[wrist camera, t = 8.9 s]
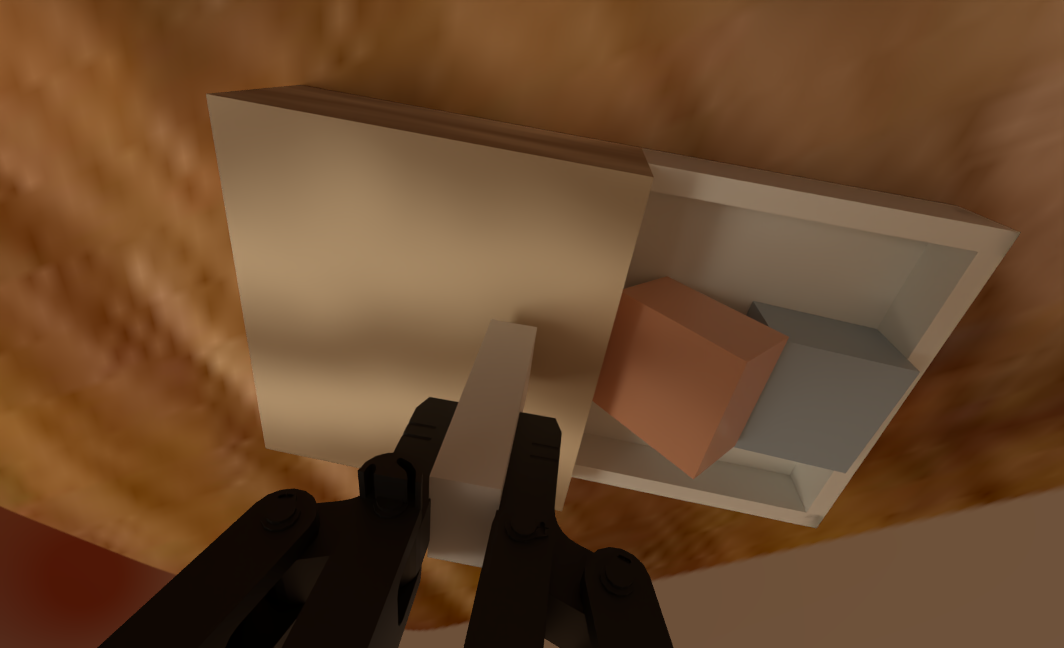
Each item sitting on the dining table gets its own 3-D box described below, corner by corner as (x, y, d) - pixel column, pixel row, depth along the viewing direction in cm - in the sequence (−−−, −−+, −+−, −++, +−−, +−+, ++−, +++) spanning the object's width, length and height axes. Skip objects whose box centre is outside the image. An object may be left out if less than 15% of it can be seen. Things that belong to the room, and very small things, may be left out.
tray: (641, 147, 18) (648, 163, 15) (958, 206, 17) (1020, 232, 15) (568, 431, 25) (564, 475, 22) (793, 477, 24) (816, 528, 22)
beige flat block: (300, 85, 18) (205, 93, 14) (641, 147, 18) (653, 177, 13) (323, 380, 25) (265, 448, 21) (568, 431, 25) (561, 511, 20)
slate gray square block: (920, 371, 16) (877, 329, 19) (776, 339, 17) (752, 300, 19) (845, 473, 19) (816, 422, 22) (720, 444, 19) (706, 397, 22)
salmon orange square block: (667, 276, 19) (619, 290, 17) (789, 337, 16) (747, 361, 14) (634, 376, 22) (589, 398, 20) (735, 445, 19) (693, 479, 17)
